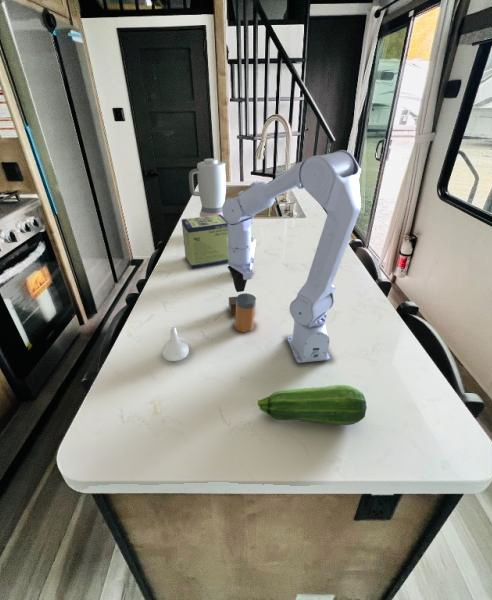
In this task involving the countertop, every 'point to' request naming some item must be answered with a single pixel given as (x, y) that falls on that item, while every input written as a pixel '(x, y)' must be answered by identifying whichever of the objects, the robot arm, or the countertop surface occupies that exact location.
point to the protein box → (205, 240)
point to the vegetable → (317, 405)
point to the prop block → (232, 305)
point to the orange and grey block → (245, 312)
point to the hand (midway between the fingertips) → (239, 290)
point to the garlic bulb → (175, 347)
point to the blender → (210, 186)
